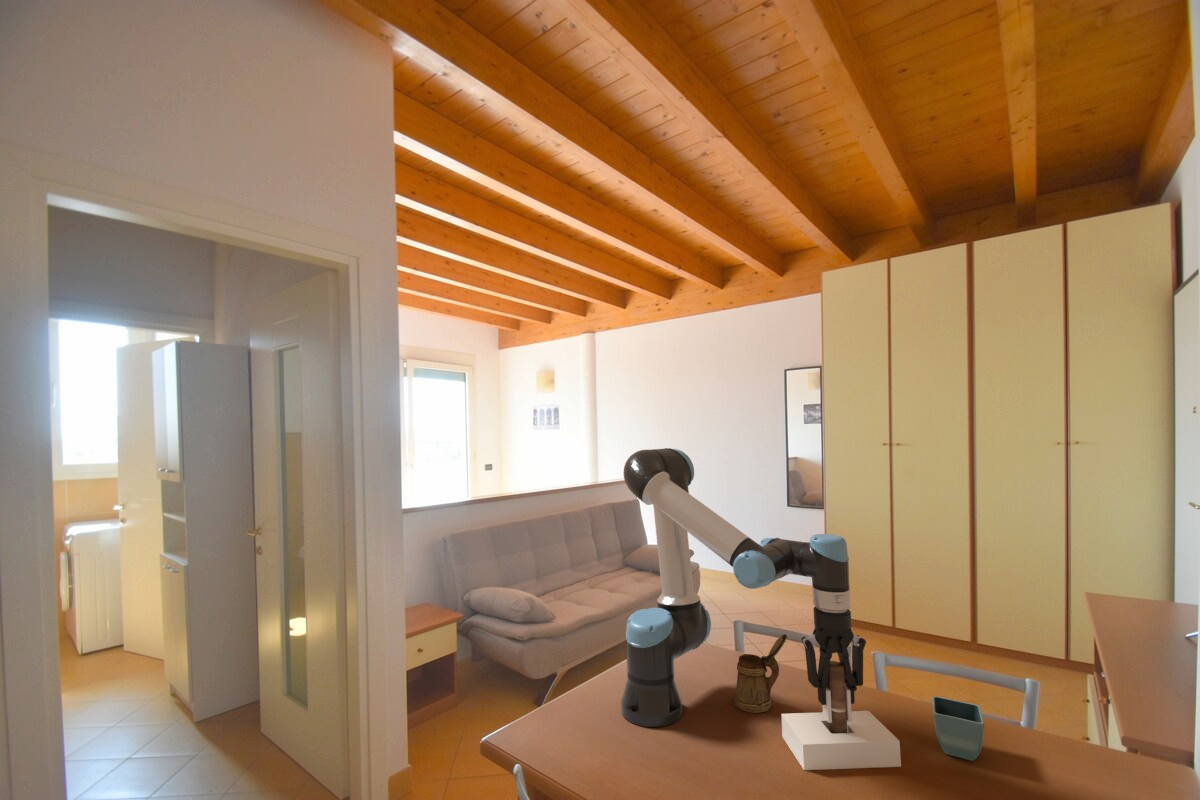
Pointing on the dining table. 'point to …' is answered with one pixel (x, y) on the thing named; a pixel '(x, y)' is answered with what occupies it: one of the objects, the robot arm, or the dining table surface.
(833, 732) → the walnut peg
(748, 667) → the wooden mug
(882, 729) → the socket block
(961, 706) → the flower pot
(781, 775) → the dining table surface
